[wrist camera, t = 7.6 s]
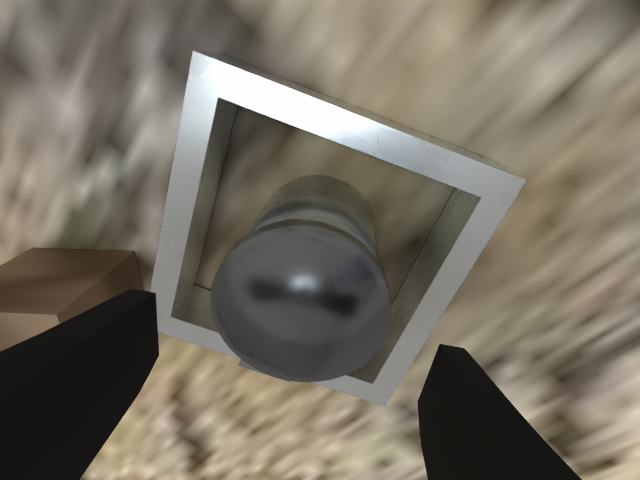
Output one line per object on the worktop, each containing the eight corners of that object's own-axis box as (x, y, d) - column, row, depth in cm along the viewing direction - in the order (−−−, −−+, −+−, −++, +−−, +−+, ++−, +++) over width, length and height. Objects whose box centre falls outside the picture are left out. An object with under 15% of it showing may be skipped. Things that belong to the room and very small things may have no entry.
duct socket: (498, 162, 14) (526, 180, 12) (375, 373, 19) (379, 414, 16) (220, 54, 13) (192, 50, 11) (168, 303, 18) (141, 337, 16)
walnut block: (135, 250, 17) (56, 315, 12) (156, 336, 19) (95, 418, 14) (34, 246, 17) (-78, 308, 13) (65, 331, 19) (-22, 410, 15)
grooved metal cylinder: (361, 291, 17) (365, 396, 11) (252, 268, 17) (205, 362, 11) (392, 186, 15) (416, 255, 9) (267, 159, 15) (217, 211, 9)
